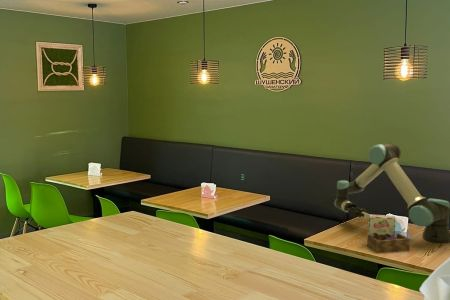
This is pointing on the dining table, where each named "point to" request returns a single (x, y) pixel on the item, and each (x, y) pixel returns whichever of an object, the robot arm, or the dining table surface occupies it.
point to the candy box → (381, 227)
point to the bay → (389, 244)
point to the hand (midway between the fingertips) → (367, 216)
